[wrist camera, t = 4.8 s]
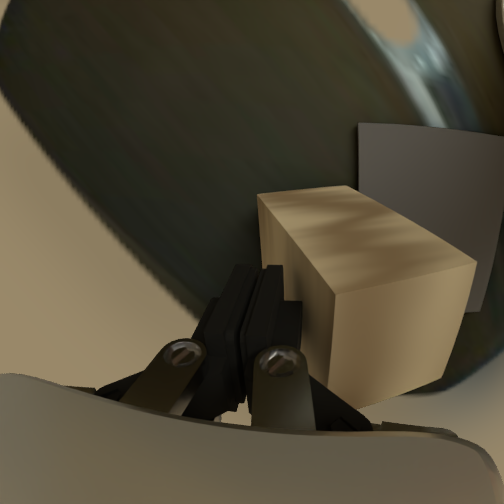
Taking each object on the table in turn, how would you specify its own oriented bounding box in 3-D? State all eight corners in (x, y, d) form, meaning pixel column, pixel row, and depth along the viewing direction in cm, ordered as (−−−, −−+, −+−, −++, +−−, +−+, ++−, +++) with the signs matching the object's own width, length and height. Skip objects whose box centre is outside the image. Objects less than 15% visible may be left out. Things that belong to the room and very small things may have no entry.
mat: (507, 137, 14) (509, 137, 13) (478, 309, 19) (479, 311, 18) (357, 122, 16) (358, 123, 15) (351, 313, 21) (351, 316, 20)
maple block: (345, 185, 17) (477, 261, 8) (343, 265, 19) (441, 377, 10) (256, 193, 17) (335, 294, 8) (263, 279, 19) (323, 418, 10)
